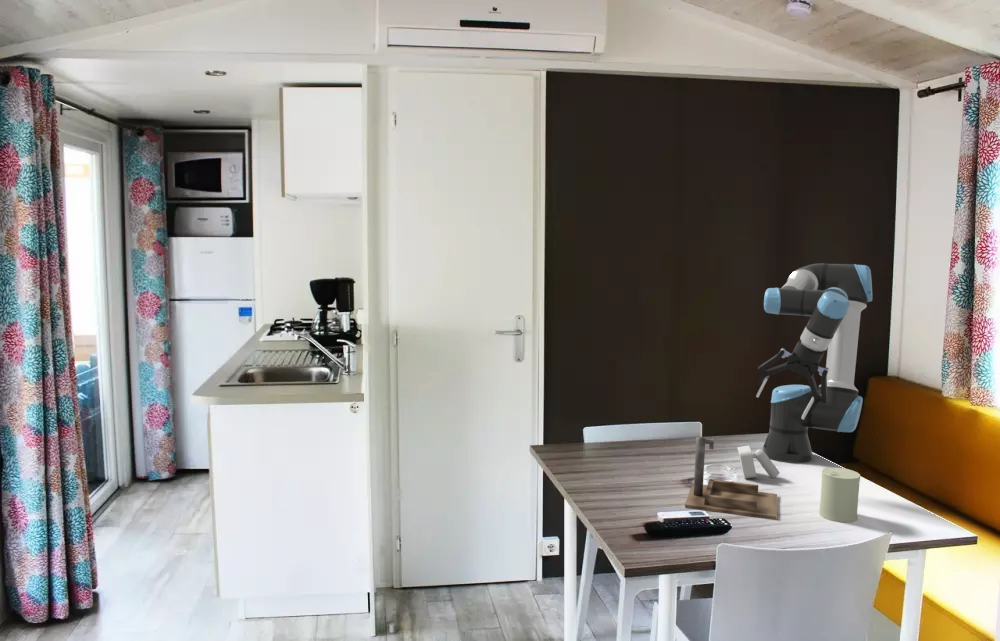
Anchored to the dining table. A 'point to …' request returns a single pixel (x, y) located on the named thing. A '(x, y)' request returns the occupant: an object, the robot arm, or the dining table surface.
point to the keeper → (727, 492)
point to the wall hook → (748, 462)
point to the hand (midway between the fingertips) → (780, 406)
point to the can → (839, 494)
